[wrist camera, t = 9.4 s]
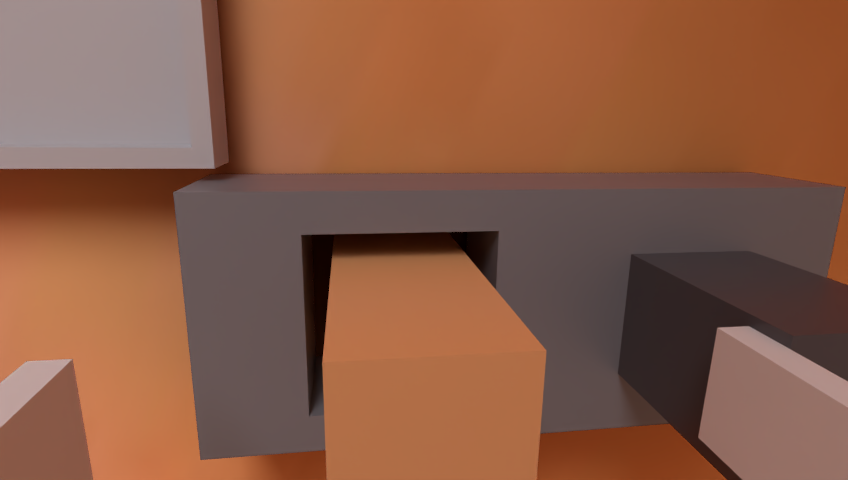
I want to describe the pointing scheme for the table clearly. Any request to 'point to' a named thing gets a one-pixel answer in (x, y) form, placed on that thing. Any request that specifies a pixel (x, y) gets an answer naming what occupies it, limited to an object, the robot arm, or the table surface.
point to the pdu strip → (513, 286)
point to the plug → (425, 366)
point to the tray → (111, 85)
